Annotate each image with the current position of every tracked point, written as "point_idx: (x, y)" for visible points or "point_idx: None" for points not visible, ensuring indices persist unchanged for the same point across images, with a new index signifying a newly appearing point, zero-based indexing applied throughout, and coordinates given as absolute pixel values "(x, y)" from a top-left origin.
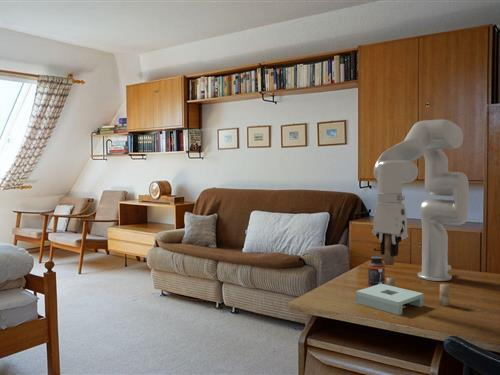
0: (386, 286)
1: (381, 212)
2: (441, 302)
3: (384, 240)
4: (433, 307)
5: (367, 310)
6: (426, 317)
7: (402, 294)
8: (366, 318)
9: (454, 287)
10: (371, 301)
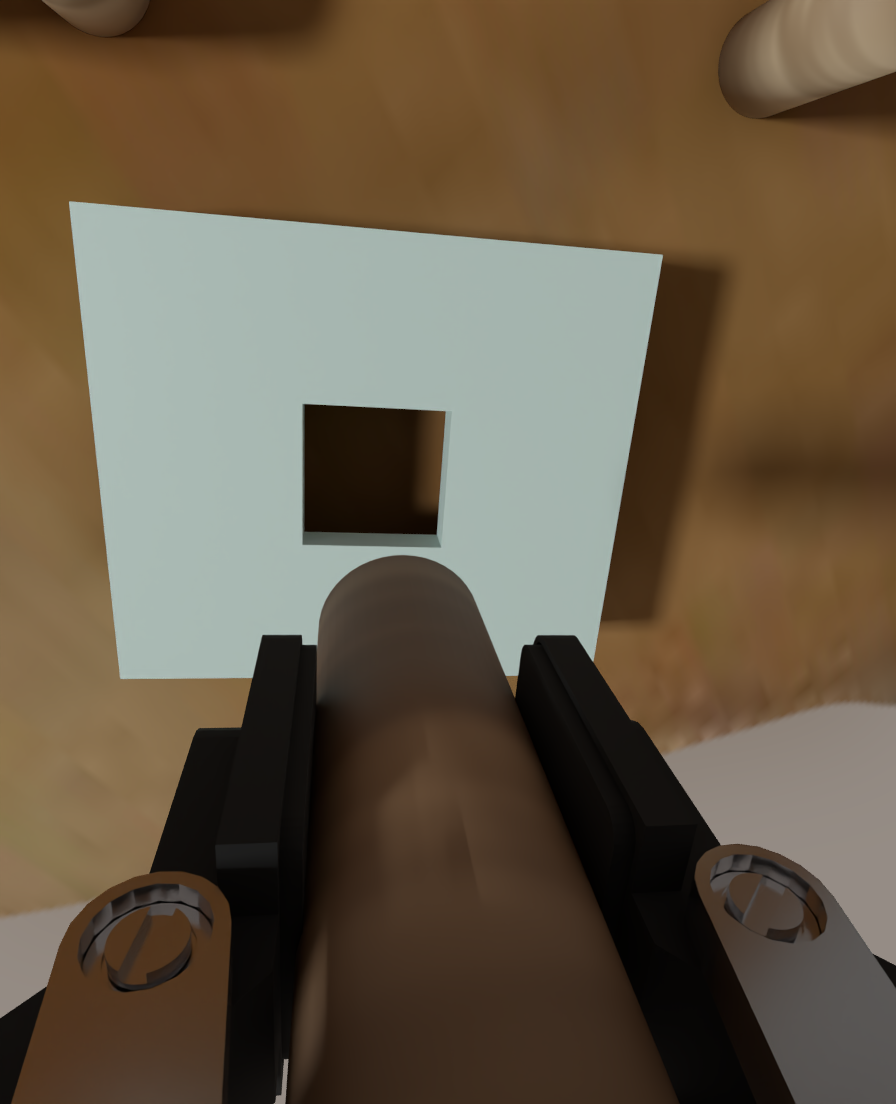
0: (211, 289)
1: None
2: (761, 110)
3: (263, 1065)
4: (701, 237)
5: None
6: (728, 522)
7: (513, 454)
8: None
9: None
10: None
